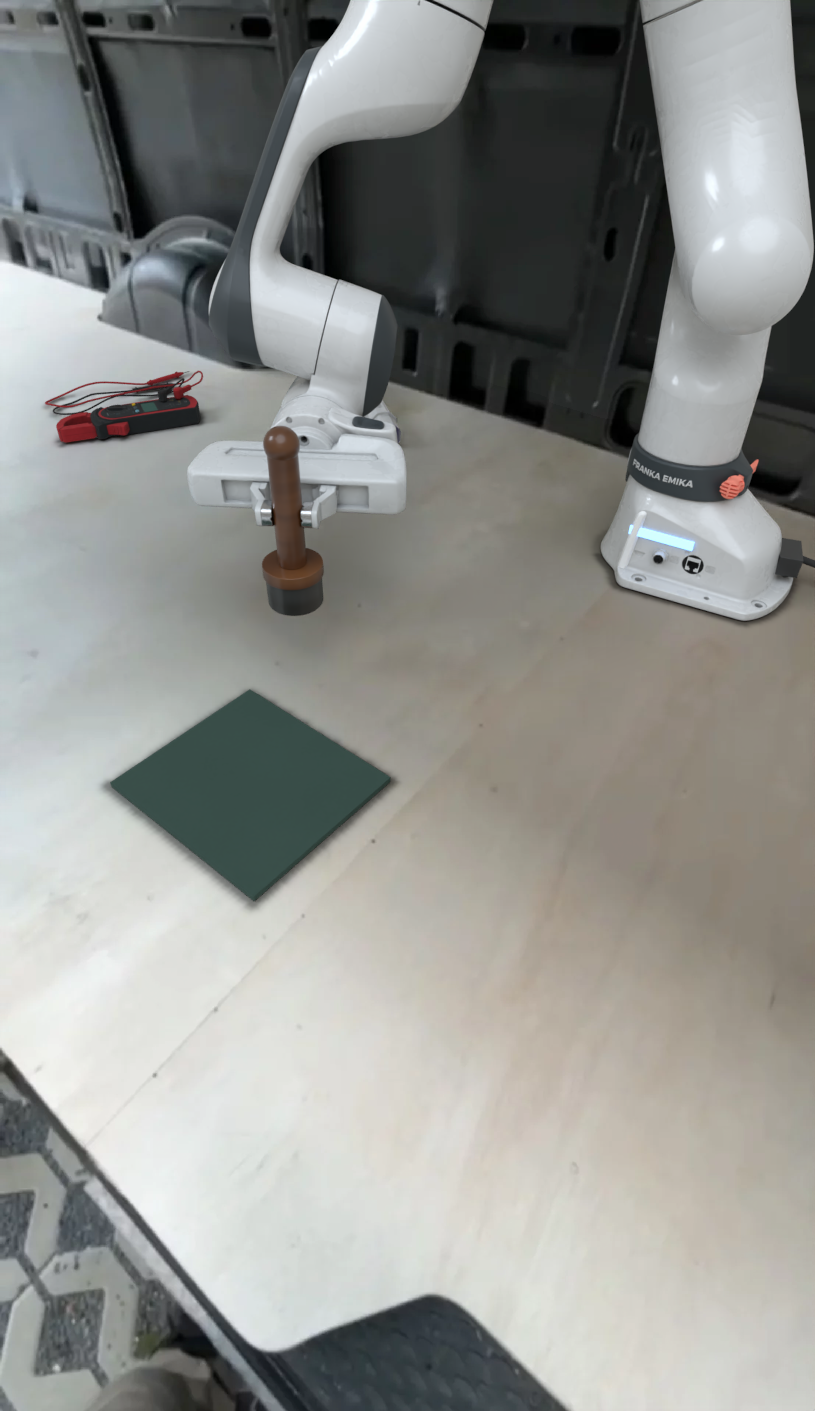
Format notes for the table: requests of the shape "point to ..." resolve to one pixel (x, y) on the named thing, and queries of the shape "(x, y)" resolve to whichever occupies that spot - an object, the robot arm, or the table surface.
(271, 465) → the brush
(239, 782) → the mat
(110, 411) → the digital clamp meter
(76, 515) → the table surface
